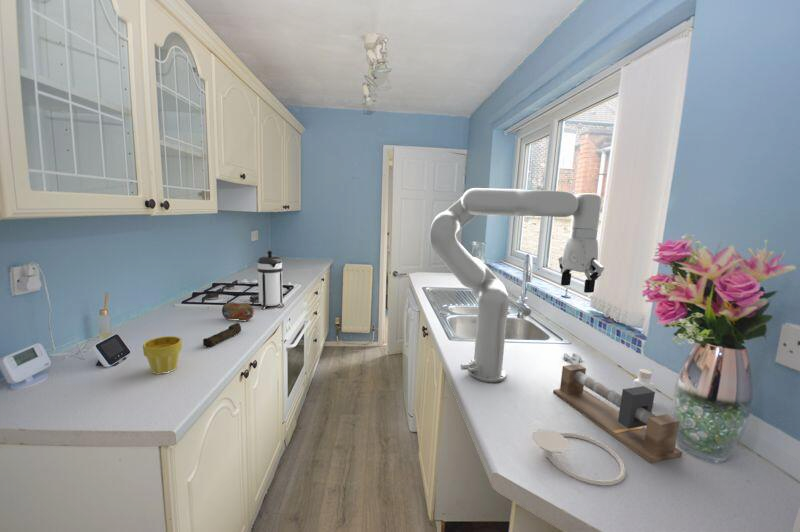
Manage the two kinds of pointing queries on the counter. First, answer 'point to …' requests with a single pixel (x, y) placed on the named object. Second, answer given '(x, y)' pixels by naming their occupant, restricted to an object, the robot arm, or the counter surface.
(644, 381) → the salt shaker
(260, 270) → the coffee press
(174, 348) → the plant pot
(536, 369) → the counter surface
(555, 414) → the counter surface
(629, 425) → the collar
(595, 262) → the robot arm
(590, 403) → the pipe stand
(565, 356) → the adjustable wrench
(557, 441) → the hand towel holder
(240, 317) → the tin
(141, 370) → the counter surface
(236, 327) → the hand tool
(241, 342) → the counter surface
